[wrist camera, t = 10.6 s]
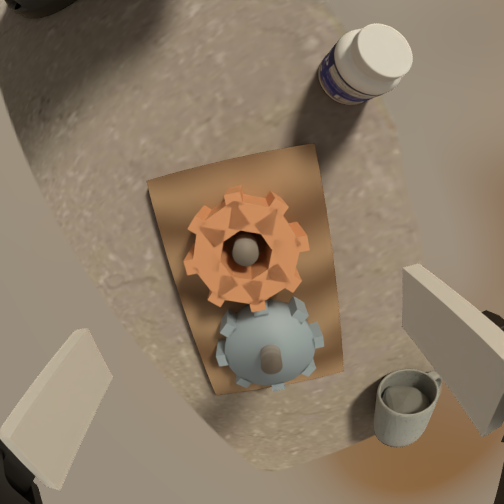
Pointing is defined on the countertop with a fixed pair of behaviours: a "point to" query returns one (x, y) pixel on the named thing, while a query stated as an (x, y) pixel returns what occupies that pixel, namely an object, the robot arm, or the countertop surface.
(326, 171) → the countertop surface
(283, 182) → the walnut board
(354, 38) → the pill bottle
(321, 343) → the slate gear
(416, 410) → the ceramic mug
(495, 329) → the robot arm
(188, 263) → the terracotta gear
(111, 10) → the countertop surface
